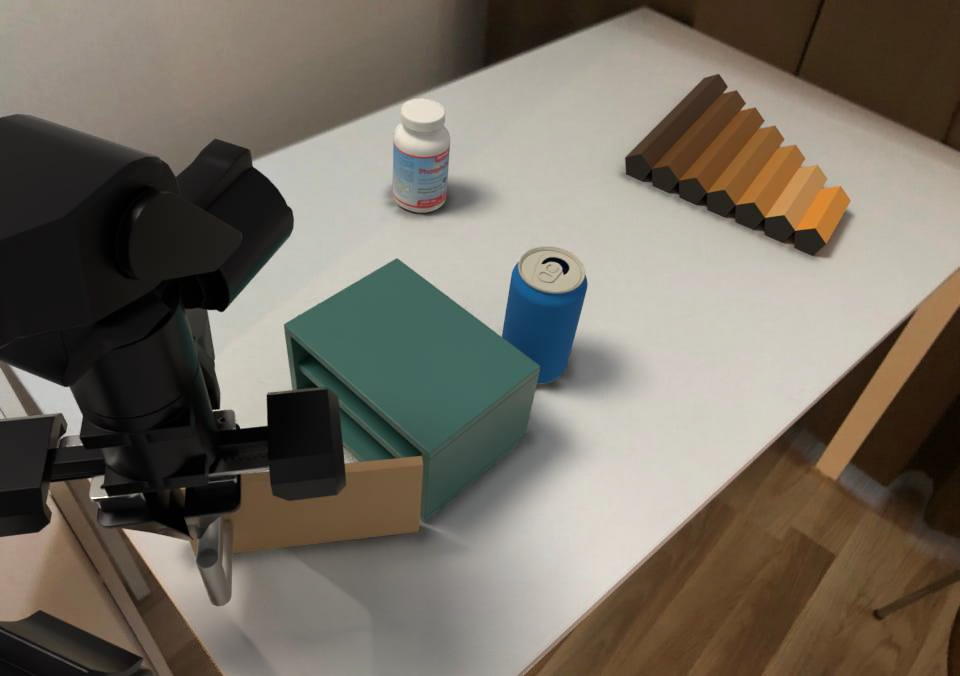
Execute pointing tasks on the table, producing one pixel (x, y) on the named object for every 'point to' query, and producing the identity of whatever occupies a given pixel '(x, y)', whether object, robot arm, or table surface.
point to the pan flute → (738, 167)
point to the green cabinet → (415, 378)
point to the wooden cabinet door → (310, 517)
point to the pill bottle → (421, 156)
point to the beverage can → (545, 307)
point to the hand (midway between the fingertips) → (194, 532)
